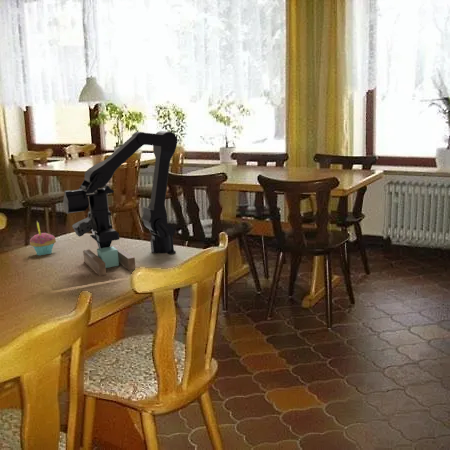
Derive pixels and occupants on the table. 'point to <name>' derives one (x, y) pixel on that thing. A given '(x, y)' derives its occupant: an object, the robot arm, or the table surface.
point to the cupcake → (42, 242)
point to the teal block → (108, 256)
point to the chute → (99, 264)
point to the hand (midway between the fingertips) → (104, 257)
